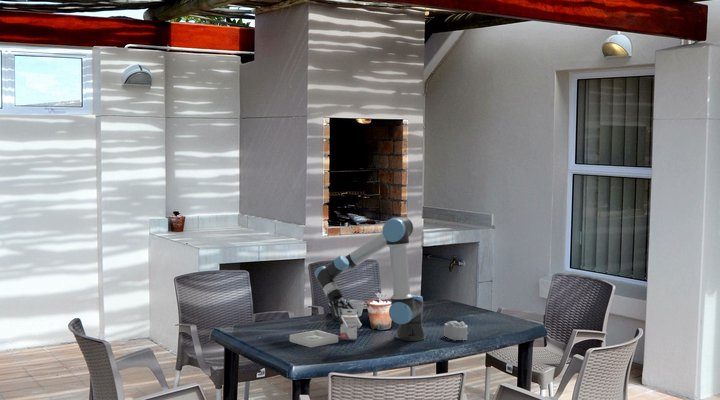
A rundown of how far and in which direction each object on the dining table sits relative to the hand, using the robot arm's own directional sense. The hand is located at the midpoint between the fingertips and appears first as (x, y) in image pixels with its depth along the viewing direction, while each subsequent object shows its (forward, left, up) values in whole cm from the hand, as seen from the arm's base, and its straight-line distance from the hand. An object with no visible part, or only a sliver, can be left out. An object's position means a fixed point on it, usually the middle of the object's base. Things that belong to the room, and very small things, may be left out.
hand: (353, 327), depth 461 cm
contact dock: (+11, +17, -7) cm, 21 cm away
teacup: (+42, -40, -7) cm, 59 cm away
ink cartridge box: (+3, 0, -6) cm, 7 cm away
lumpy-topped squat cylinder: (-28, -50, -7) cm, 58 cm away
